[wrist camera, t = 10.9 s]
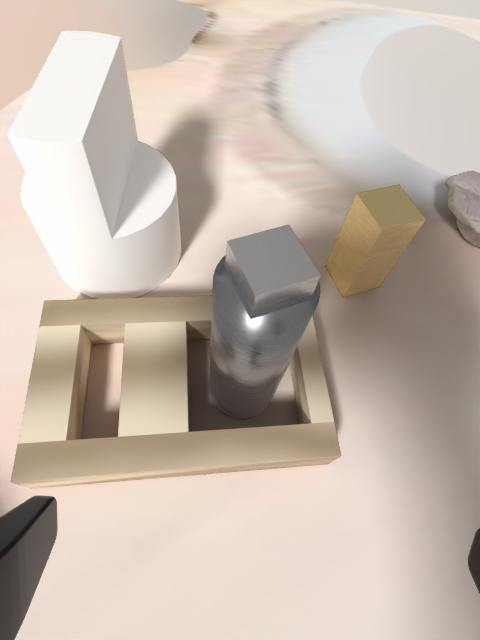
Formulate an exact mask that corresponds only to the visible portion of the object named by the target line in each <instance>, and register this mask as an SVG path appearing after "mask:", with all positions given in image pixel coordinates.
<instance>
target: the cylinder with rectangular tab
mask: <svg viewBox="0 0 480 640" xmlns="http://www.w3.org/2000/svg"><path fill="white" fill-rule="evenodd" d="M7 135H8V137H9V139H10V141H11V143H12V145H13V147H14V149H15V151H16V153H17V155H18V157H19V159H20V162H21V164H22V166H23V168H24V170H25V172H26V174H25V175H24V177H23V181H22V185H21V189H20V193H21V200H22V205H23V207H24V209H25V211H26V212H27V214H28V216H29V218H30V220H31V222H32V223H33V225H34V227H35V229H36V231H37V233H38V235H39V236H40V238H41V240H42V242H43V244H44V246H45V247H46V249H47V251H48V253H49V255H50V257H51V258H52V260H53V262H54V264H55V266H56V268H57V269H58V271H59V273H60V274H61V276H62V278H63V280H64V281H65V282H66V283H68V284H69V285H70V286H71V287H72V288H73V289H74V290H76V291H78V292H80V293H83V294H85V295H87V296H89V297H93V298H98V299H114V298H133V297H137V296H141V295H143V294H145V293H147V292H149V291H151V290H153V289H155V288H157V287H159V286H160V285H161V284H162V283H163V282H164V281H166V280H167V279H168V278H169V277H170V276H171V274H172V273H173V271H174V270H175V269H176V267H177V265H178V262H179V259H180V256H181V235H180V222H179V209H178V196H177V183H176V175H175V173H174V171H173V168H172V166H171V164H170V163H169V161H168V160H167V159H166V158H165V157H164V156H163V155H162V153H160V152H159V151H157V150H156V149H154V148H153V147H151V146H150V145H148V144H145V143H142V142H140V141H138V138H137V132H136V126H135V120H134V114H133V108H132V102H131V96H130V90H129V84H128V78H127V72H126V66H125V60H124V54H123V48H122V41H121V38H120V37H117V36H113V35H107V34H102V33H97V32H86V31H85V32H84V31H62V33H61V34H60V37H59V38H58V40H57V42H56V44H55V46H54V48H53V49H52V51H51V53H50V55H49V57H48V59H47V61H46V63H45V64H44V66H43V68H42V70H41V72H40V74H39V75H38V77H37V79H36V81H35V83H34V85H33V87H32V89H31V90H30V92H29V94H28V96H27V98H26V100H25V102H24V103H23V105H22V107H21V109H20V111H19V113H18V115H17V117H16V118H15V120H14V122H13V124H12V126H11V128H10V130H9V131H8V133H7Z"/></svg>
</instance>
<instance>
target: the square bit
mask: <svg viewBox="0 0 480 640" xmlns="http://www.w3.org/2000/svg"><path fill="white" fill-rule="evenodd" d="M425 220H426V219H425V218H424V216H423V215H422V214H421V212H420V211H419V210H418V208H417V207H416V206H415V205H414V203H413V202H412V201H411V199H410V198H409V197H408V195H407V194H406V193H405V192H404V190H403V189H402V188H401V186H400V185H394V186H389V187H384V188H380V189H375V190H370V191H366V192H361V193H357V194H356V196H355V199H354V201H353V203H352V205H351V208H350V210H349V212H348V214H347V217H346V219H345V221H344V223H343V226H342V228H341V230H340V232H339V235H338V237H337V239H336V241H335V244H334V246H333V248H332V250H331V253H330V255H329V257H328V259H327V262H326V264H325V266H326V268H327V270H328V272H329V273H330V275H331V277H332V279H333V280H334V282H335V284H336V286H337V287H338V289H339V291H340V293H341V294H342V296H343V297H346V296H350V295H353V294H357V293H360V292H364V291H367V290H371V289H374V288H378V287H379V286H380V285H381V283H382V282H383V280H384V279H385V277H386V276H387V275H388V273H389V272H390V270H391V269H392V267H393V266H394V265H395V263H396V262H397V260H398V259H399V257H400V256H401V255H402V253H403V252H404V250H405V249H406V247H407V246H408V244H409V243H410V242H411V240H412V239H413V237H414V236H415V234H416V233H417V232H418V230H419V229H420V227H421V226H422V224H423V223H424V222H425Z"/></svg>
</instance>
